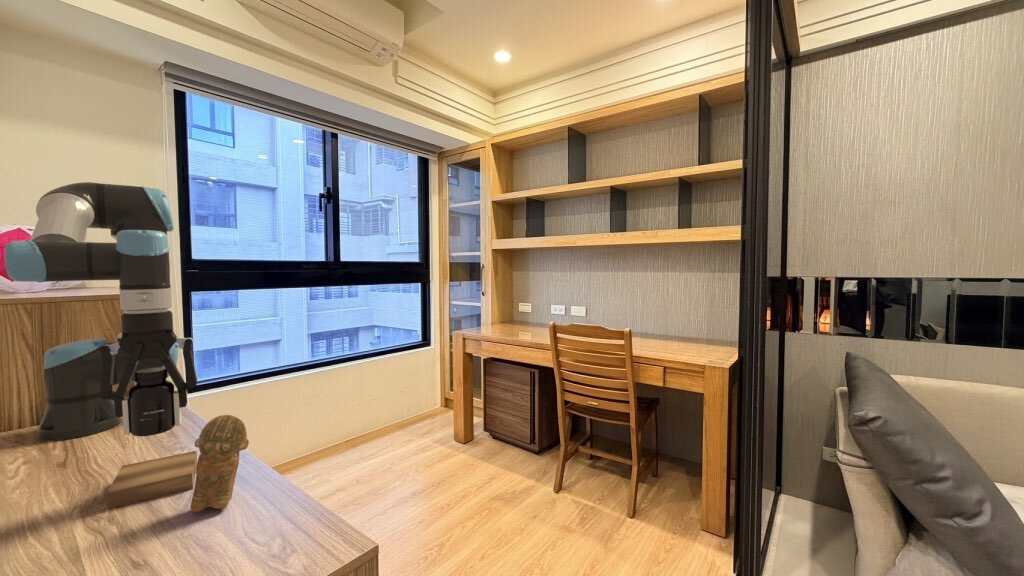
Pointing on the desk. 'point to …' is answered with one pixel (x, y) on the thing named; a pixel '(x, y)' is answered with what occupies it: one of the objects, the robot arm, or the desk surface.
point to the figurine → (218, 461)
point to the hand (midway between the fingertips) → (153, 427)
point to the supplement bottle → (151, 403)
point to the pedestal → (152, 479)
